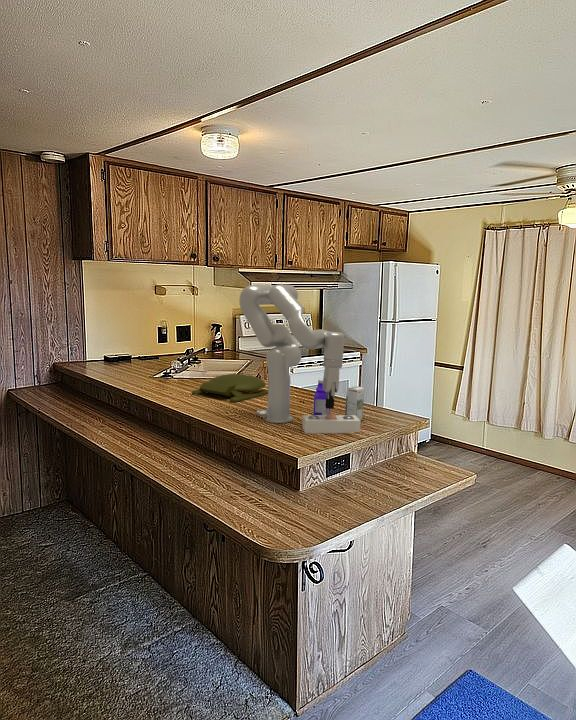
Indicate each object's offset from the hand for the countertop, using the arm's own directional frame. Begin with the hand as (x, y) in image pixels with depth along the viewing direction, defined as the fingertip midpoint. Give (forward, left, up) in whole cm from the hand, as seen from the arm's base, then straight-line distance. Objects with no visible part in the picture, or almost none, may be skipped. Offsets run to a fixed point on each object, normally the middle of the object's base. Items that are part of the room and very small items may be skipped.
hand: (329, 408), depth 215 cm
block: (+1, -1, -9) cm, 9 cm away
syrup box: (+14, +15, -9) cm, 23 cm away
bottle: (0, +17, -9) cm, 20 cm away
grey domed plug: (+8, -1, -9) cm, 12 cm away
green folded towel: (-38, +70, -10) cm, 81 cm away
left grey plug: (-6, -1, -9) cm, 11 cm away
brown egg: (+1, -1, -8) cm, 8 cm away
